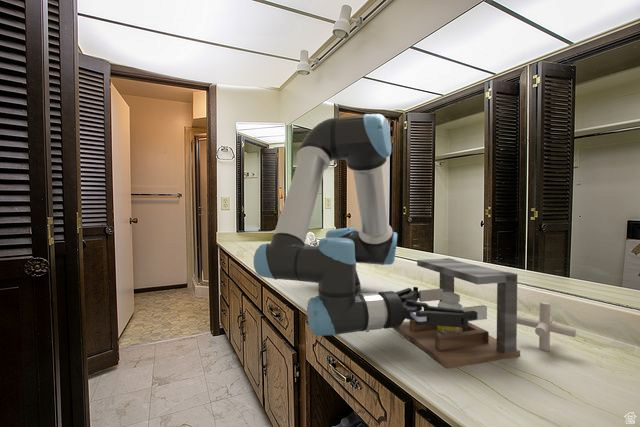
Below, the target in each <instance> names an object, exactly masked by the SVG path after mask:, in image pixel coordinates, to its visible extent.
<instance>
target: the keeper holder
mask: <svg viewBox="0 0 640 427" xmlns="http://www.w3.org/2000/svg"><path fill="white" fill-rule="evenodd" d="M416 265H417V267H420V268H423V269H427V270H430V271H434V272H436V273H439V289H443V292H452V293H455V278H456V279H459V280H462V281H465V282H469V283H472V284H475V285H488V284H489V285H490V284H497V285H496V288H497V289H496V338H495V337H493V336H492V335H489V331H487V330H486V329H484V328H481V327H479V326H477V325H476V324H473V323H472V322H470V321H468V328H462V332H458V333H450V334H443V335H438V333H437V326H436V325H416V320H415V319H414V320H408V321H403V323H402V324H401V326H399V327H395V328H394V329H395V330H396V331H397V332H399V333H400V334H402V335H403V336H404V337H405V338H407V339H408V340H409V341H411V342H412V343H413V344H415V346H417V347H418V348H419V349H421V350H422V351H423V352H425V353H426V354H428V356H430V357H431V358H433V359H434V360H435V361H436V362H438V363H440V364H441V365H442V366H444V368H446V369H451V368H457V367H461V366H467V365H475V364H480V363H485V362H486V363H487V362H492V361H497V360H503V359H509V358H515V357H519V356H521V350H520V349H517V344H518V343H517V340H518V338H517V336H518V335H517V334H518V333H517V332H518V330H517V329H518V327H517V326H518V324H517V316H518V273H513V272H510V271H503V270H499V269H493V268H491V267H490V268H489V267H486V266H481V265H477V264H474V263H470V262H469V263H468V262H465V261H460V260H456V259H455V258H454V259H453V258H450V257H449V258H431V259H430V258H429V259H417V260H416ZM440 301H442V300H438V303H439V302H440Z"/></svg>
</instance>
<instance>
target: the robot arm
mask: <svg viewBox="0 0 640 427" xmlns="http://www.w3.org/2000/svg"><path fill="white" fill-rule="evenodd" d="M391 140H392V139H391V131H390V127H389V124H388V121H387V119H386V117H385V116H384V115H382V114H381V113H370V114H369V113H365V114H358V115H350V116H344V117H343V116H342V117H333V118H327V119H324V120H323V121H321V122H320V123H318V124H317V125H316V126H314V127H313V128H312V129H311V130H310V131H309V132H308V133H307V134H306V136H305V137H304V138H303V140H302V141H301V143H300V145H299V148H298V150H297V153H296V160H297V161H296V162H297V165H296V167H295V170H294V173H293V176H292V180H291V183H290V185H289V188H288V191H287V193H286V194H287V195H286V197H285V200H284V202H283V206H282V208H281V212H280V214H279V218H278V221H277V224H276V226H275V229H274V233H273V236H272V238H271V240H270V243H269V242H268V243H263V244H260V245H259V246H258V248H256V250H255V251H254V254H253V268H254V270H255V273H256V274H257V275H258V276H260V277H262V278H267V279H273V280H283V281H284V280H285V281H287V280H288V281H295V282H297V281H298V282H305V283H314V284H315V283H316V284H318V295H316V296H315V297H314V296H313V297H311V298H309V299H308V301H307V307H306V314H307V316H306V317H307V318H306V319H307V323H308V327H309V330H310V332H311V334H313V335H314V336H318V337H319V336H320V337H321V336H336V335H342V334H349V333H357V332H365V333H369V332H370V331H373V330H374V331H376V330H382V329H384V330H385V329H387V330H388V329H395V327H399V326H401V324H402V323H403V322H405V320H408V321H410V320H414V319H415V320H416V325H436V326H449V327H461V328H468V322H474V321H483V320H488V306H487V305H483V304H481V305H472V306H464V307H463V306H462V308H459V310H456V309H449V308H441V307H438V306H434V305H433V306H432V305H429V304H428V303H426V302H434V301H439V300H441V293H442V292H443V289H440V288H431V289H430V288H429V289H420V290H419V287H417V286H412V287H411V288H410V287H407V288H405V289H401V290H397V291H394V290H393V291H392V290H391V291H389V290H388V291H379V292H376V291H375V292H374V291H373V292H372V291H371V292H363V293H359V292H360V291H361V288H362V287H361V286H362V285H361V281H360V278H359V275H358V271H357V263H358V264H368V265H380V266H384V265H385V266H387V265H388V266H390V265H393V264H394V262H395V259H396V252H397V251H396V250H397V241H398V233H397V232H395V231H393V228H392V226H391V225H390V224H389V223H388V219H387V218H388V217H387V216H388V215H387V207H386V206H387V205H386V196H385V186H384V176H383V175H384V174H383V166H384V165H385V164H386V162H387V158H388V157H390V156H391V154H392V142H391ZM336 160H337V161H338V160H339V161H340V160H345V162H346V166H347V168H348V169H349V170H351V171H352V172H353V178H354V185H355V191H356V197H357V198H356V200H357V205H358V210H359V218H360V221H361V222H360V223H361V227H360V229H357V228H356V227H353V226H352V227H344V228H336V229H330V230H327V231H326V233H325V237H323V238H320V240H319V241H318V245H305V243H306V238H307V235H308V231H309V227H310V224H311V222H312V221H311V220H312V217H313V213H314V209H315V206H316V202H317V198H318V195H319V192H320V187H321V183H322V182H323V176H324V173H325V171H326V170H327V169H328V168H329V167H330V165H331V162H333V161H336ZM357 230H359V231H357ZM412 288H413V289H412Z"/></svg>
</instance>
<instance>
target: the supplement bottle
mask: <svg viewBox="0 0 640 427" xmlns="http://www.w3.org/2000/svg"><path fill="white" fill-rule="evenodd" d="M441 300H442V301H440V302H439V301H438V303H437V307H441V308H449V309H456V310H459V308H462V307H463V305H461V303H460V301H461V296H460V294H458V293H456V292H454V293H452V292H442V293H441ZM458 332H462V328H461V327H449V326H437V333H438V335H443V334H450V333H458Z"/></svg>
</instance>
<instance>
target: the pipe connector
mask: <svg viewBox="0 0 640 427" xmlns="http://www.w3.org/2000/svg"><path fill="white" fill-rule="evenodd" d="M553 322H554V319H553V317H552V316H551V303H550V302H548V301H547V302H546V301H540V302H539V319H536V318H535V319H534V318H529V317H525V316H520V315H517V325H521V326H525V327H530V328H534V333H535V334H536V335H537V336H538V338H539V339H538V343H539V344H538V348H539V349H541V350H542V351H546V352H549V351H550V348H551V347H550V342H551V333H556V334H558V335H563V336H567V337H572V338H576V331H577V329H576V328H574V327H570V326H565V325H561V324H556V323H553Z"/></svg>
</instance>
